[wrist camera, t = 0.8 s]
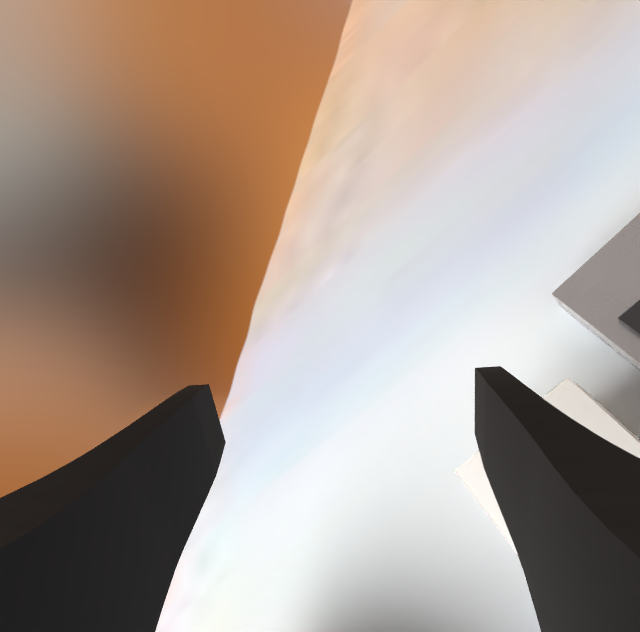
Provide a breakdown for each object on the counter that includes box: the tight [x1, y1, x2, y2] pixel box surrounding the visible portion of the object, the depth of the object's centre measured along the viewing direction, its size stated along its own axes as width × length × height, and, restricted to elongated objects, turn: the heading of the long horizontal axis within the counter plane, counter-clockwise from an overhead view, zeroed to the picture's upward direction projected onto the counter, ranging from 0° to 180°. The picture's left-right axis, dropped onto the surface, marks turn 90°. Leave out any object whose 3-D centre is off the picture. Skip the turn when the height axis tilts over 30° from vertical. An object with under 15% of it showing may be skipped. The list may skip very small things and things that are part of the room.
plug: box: [454, 377, 640, 555], centre depth 17 cm, size 4×6×6 cm
